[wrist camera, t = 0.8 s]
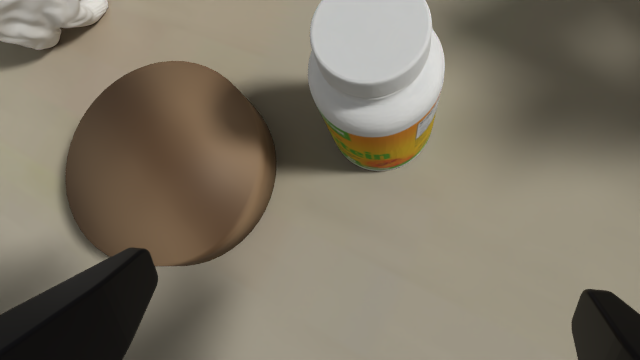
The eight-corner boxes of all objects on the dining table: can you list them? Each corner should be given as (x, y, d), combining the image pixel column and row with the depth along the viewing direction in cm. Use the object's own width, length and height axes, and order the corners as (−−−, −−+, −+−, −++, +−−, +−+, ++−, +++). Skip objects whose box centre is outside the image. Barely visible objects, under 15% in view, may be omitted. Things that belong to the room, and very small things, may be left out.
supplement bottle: (316, 149, 23) (259, 70, 14) (358, 66, 23) (331, -65, 14) (405, 189, 22) (411, 131, 12) (448, 100, 22) (483, -21, 13)
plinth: (169, 307, 23) (135, 313, 20) (73, 168, 26) (32, 156, 23) (315, 174, 23) (302, 160, 20) (202, 50, 26) (177, 23, 23)
